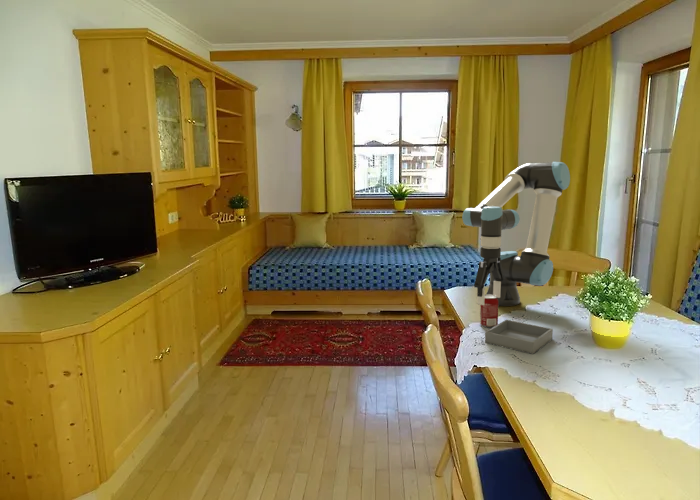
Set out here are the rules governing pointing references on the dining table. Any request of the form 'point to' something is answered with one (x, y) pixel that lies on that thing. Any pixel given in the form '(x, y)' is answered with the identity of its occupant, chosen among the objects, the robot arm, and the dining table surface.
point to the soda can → (489, 311)
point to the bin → (519, 336)
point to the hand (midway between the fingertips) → (488, 300)
